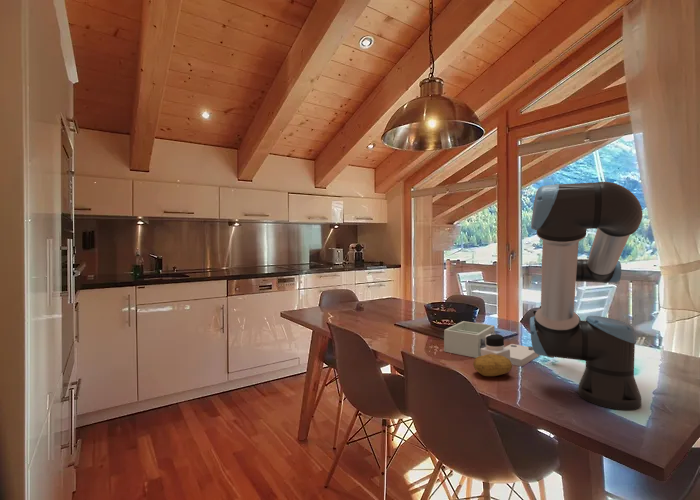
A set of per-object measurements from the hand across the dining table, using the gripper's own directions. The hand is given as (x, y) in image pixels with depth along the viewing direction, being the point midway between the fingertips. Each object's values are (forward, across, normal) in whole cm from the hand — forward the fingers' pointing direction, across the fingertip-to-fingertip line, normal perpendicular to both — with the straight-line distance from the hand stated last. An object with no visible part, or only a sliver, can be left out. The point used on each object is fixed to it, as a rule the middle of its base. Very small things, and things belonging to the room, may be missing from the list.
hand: (551, 356), depth 140 cm
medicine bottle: (+3, +14, +18) cm, 23 cm away
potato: (+3, +14, +25) cm, 29 cm away
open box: (+3, +29, 0) cm, 29 cm away
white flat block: (+3, +12, 0) cm, 13 cm away
